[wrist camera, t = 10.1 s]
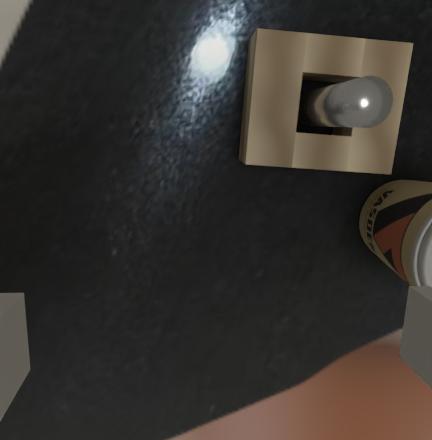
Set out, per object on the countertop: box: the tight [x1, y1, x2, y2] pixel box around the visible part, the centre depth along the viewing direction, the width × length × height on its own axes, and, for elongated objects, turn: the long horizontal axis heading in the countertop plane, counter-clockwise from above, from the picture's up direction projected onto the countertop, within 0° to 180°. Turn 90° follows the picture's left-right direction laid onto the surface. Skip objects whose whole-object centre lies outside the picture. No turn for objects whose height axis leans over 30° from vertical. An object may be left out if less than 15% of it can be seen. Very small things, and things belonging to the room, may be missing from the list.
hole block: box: [239, 28, 413, 174], centre depth 34 cm, size 12×10×4 cm
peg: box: [297, 76, 393, 128], centre depth 30 cm, size 3×3×12 cm
